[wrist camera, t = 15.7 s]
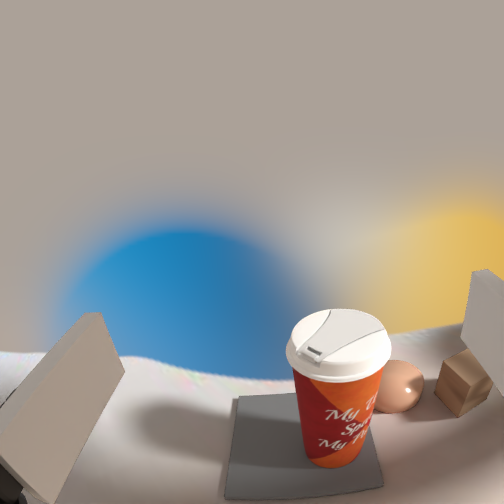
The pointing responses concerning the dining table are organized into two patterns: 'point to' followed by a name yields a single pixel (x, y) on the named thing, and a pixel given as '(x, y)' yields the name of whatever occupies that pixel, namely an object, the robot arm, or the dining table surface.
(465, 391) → the walnut block
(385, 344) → the paper cup
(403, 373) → the tan rounded disc
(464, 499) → the dining table surface
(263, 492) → the mat
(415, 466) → the dining table surface
